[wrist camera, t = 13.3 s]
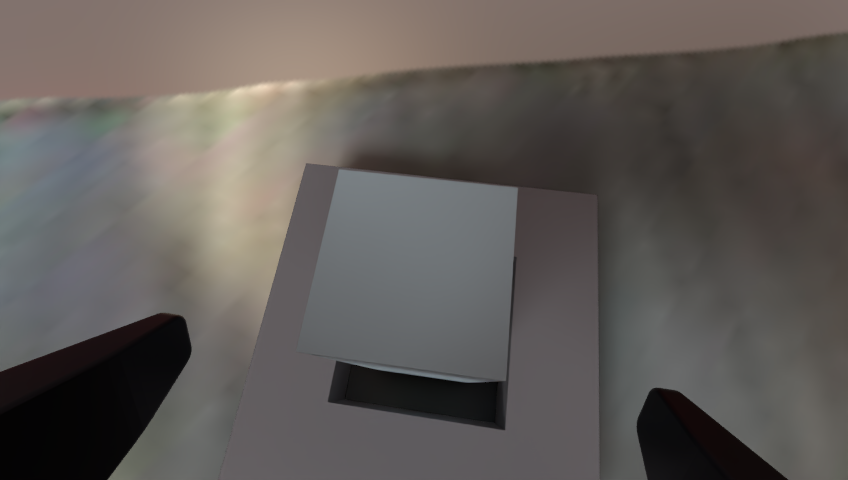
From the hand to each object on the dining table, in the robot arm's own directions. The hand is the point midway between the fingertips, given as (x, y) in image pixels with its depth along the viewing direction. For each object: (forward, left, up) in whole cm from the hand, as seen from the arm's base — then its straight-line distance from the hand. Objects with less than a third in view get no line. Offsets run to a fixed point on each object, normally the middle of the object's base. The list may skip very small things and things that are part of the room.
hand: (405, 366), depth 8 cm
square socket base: (+2, -1, -12) cm, 12 cm away
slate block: (+2, -1, -12) cm, 12 cm away
